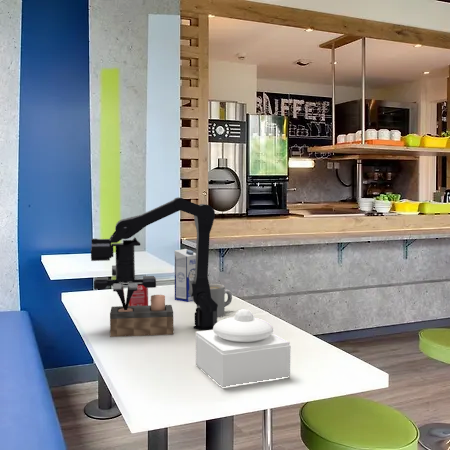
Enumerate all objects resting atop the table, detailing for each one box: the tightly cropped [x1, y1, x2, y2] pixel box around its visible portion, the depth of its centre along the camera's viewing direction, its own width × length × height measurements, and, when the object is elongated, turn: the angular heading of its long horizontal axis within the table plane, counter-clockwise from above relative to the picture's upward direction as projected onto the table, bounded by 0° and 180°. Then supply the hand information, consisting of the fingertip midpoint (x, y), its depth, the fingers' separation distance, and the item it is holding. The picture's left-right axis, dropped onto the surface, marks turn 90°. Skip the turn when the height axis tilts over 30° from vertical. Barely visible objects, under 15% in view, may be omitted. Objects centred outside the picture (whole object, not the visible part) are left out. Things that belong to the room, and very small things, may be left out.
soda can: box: [128, 285, 149, 306], centre depth 188 cm, size 7×7×12 cm
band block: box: [109, 304, 174, 338], centre depth 170 cm, size 19×10×7 cm, turn 99°
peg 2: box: [150, 294, 166, 311], centre depth 170 cm, size 4×4×6 cm
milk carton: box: [174, 248, 196, 303], centre depth 216 cm, size 7×7×20 cm
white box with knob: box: [195, 308, 292, 387], centre depth 133 cm, size 18×18×16 cm
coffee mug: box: [196, 283, 233, 318], centre depth 193 cm, size 13×10×10 cm
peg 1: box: [118, 308, 133, 312], centre depth 169 cm, size 4×4×6 cm
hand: (125, 309), depth 169 cm, fingers closed, pressing on peg 1
